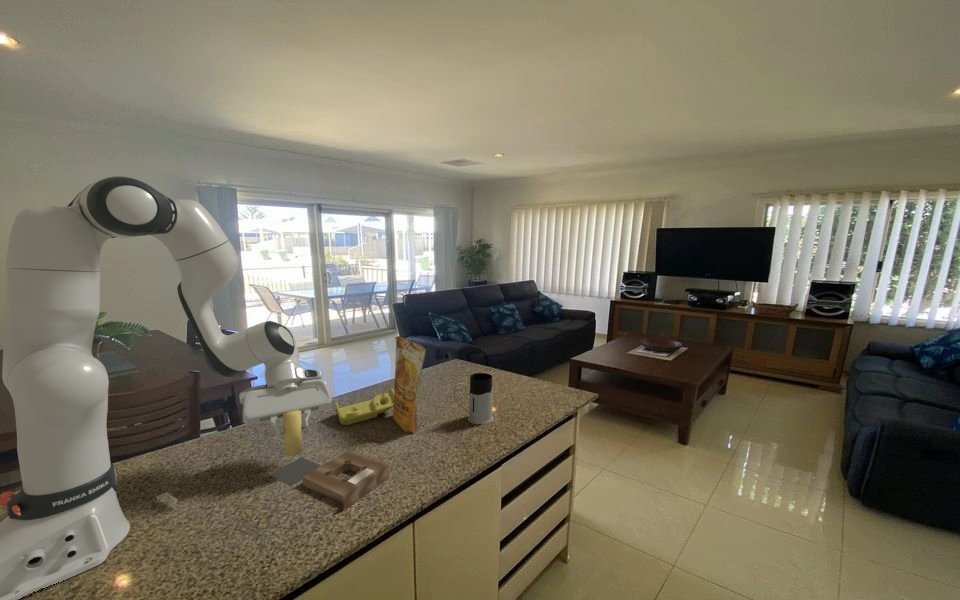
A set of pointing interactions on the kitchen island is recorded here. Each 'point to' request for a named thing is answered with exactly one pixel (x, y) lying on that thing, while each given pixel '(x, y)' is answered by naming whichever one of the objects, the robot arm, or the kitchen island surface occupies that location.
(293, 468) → the plate
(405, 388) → the pancake mix bag
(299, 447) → the peg
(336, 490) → the hole block
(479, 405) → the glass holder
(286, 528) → the kitchen island surface
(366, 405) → the plastic component
